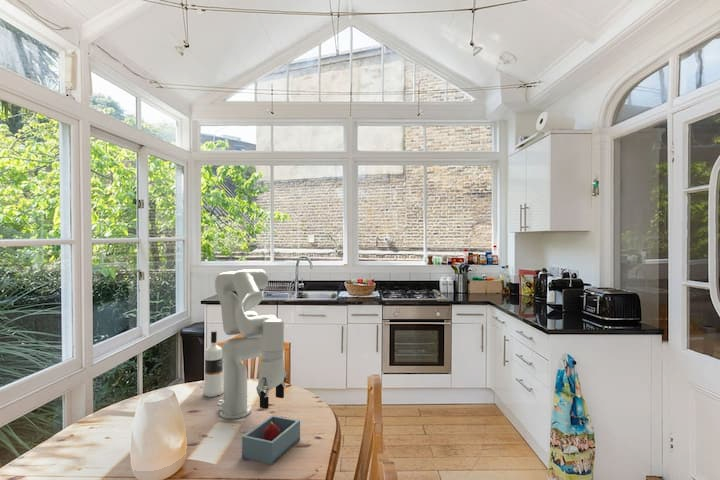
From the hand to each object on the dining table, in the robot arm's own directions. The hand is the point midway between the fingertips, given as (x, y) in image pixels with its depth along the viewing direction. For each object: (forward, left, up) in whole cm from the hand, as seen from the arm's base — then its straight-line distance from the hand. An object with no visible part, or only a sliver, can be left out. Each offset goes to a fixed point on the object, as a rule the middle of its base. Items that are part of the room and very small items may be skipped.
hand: (272, 402), depth 141 cm
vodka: (-55, +33, -16) cm, 66 cm away
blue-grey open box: (0, 0, -16) cm, 16 cm away
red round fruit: (0, 0, -15) cm, 15 cm away
